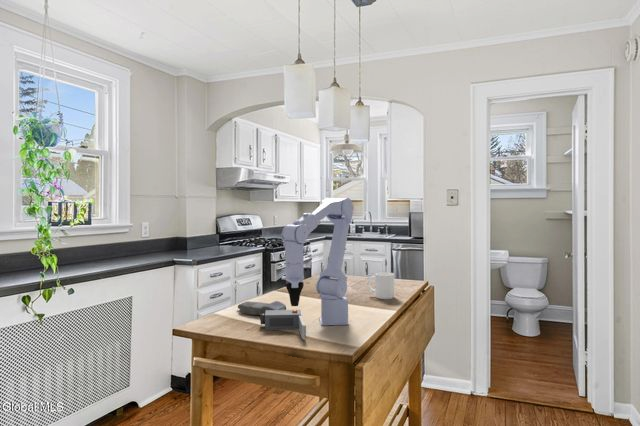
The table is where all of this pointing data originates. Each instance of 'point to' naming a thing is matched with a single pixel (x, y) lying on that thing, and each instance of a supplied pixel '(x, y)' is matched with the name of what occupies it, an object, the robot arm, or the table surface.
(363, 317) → the table surface
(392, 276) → the mug
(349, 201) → the robot arm
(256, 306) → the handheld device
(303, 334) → the side door
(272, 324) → the camera body
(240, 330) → the table surface
